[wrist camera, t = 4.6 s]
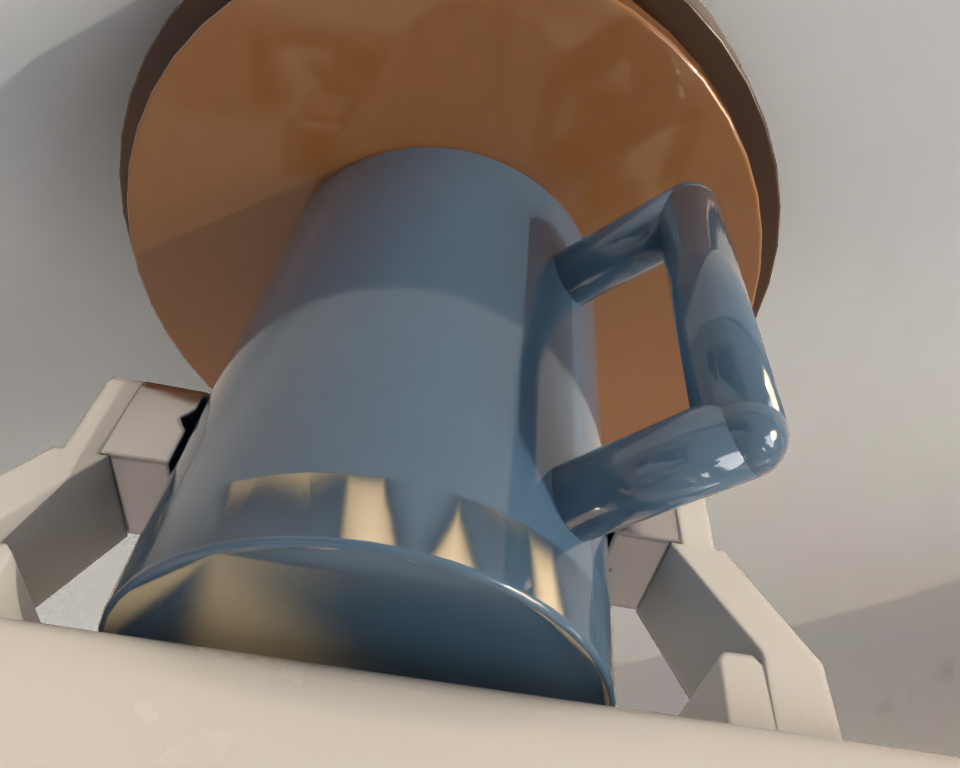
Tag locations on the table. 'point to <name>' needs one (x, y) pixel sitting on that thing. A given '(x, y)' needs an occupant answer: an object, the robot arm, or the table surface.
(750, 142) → the turntable base
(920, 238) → the table surface
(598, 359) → the blue mug on coaster
